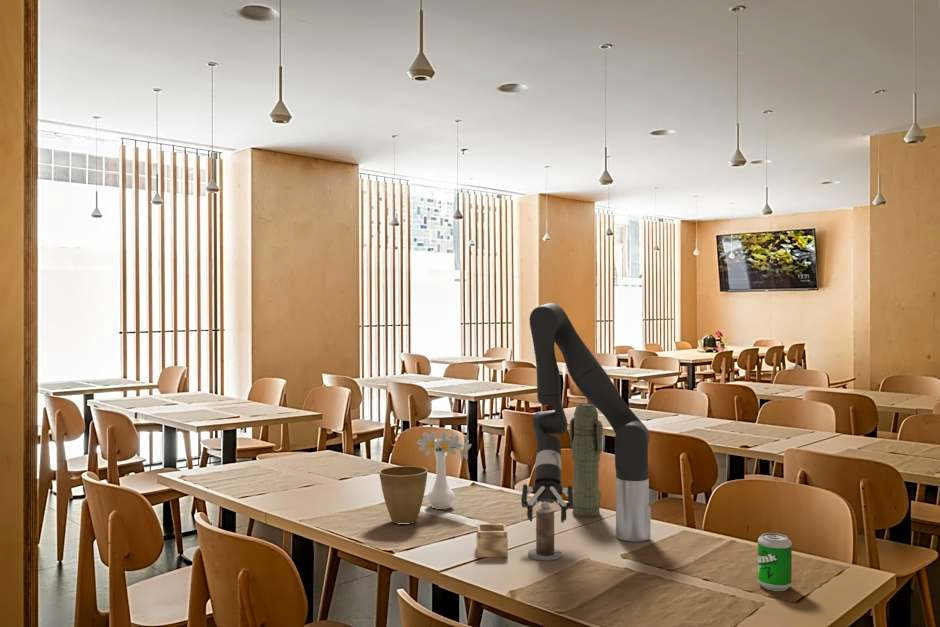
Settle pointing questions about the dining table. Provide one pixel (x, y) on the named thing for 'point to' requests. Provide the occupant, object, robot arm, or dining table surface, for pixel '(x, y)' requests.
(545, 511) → the pepper mill
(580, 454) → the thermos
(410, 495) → the plant pot
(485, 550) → the oak caddy
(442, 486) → the flower vase
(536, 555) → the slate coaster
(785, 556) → the soda can
